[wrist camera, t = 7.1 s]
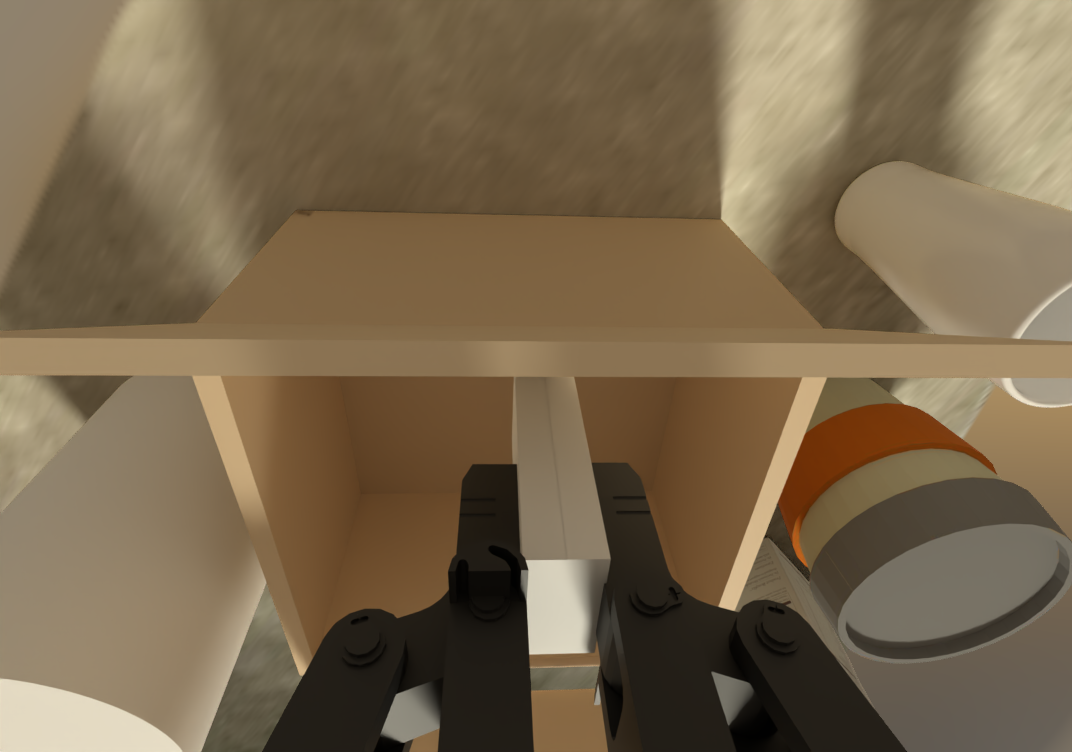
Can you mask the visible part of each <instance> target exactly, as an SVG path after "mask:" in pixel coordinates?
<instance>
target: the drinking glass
mask: <svg viewBox="0 0 1072 752" xmlns="http://www.w3.org/2000/svg"><path fill="white" fill-rule="evenodd" d="M835 230H836V233H837V236H838V238H839V240H840V241H841V242H842V244H843V245H844V246H845V247H846V248H848V249H849V250H850V251H851V252H853V253H854V254H855V255H857V256H858V257H859V258H860V259H861V260H862V261H863V262H864V263H865V264H866V265H867V266H868V267H869V268H870V269H871V270H872V271H873V272H874V273H875V274H876V275H877V276H878V277H879V278H880V279H881V280H882V281H883V282H884V283H885V284H886V285H887V286H888V287H889V288H890V289H891V290H892V291H893V292H894V293H895V294H896V295H897V296H898V297H899V298H900V299H901V300H902V301H903V302H904V303H905V304H906V305H907V306H908V307H909V309H910V310H911V311H912V312H913V313H914V314H915V315H916V316H917V317H918V318H919V319H920V320H921V321H922V322H923V323H924V324H925V325H926V326H927V327H928V328H929V329H930V330H931V331H932V332H933V333H934V334H941V335H960V336H978V337H997V338H1016V339H1034V340H1053V341H1072V211H1071V210H1067V209H1064V208H1061V207H1057V206H1054V205H1051V204H1047V203H1044V202H1040V201H1036V200H1033V199H1029V198H1025V197H1022V196H1018V195H1015V194H1011V193H1007V192H1004V191H1000V190H996V189H993V188H989V187H986V186H982V185H979V184H975V183H972V182H968V181H965V180H961V179H957V178H954V177H951V176H947V175H944V174H940V173H937V172H934V171H931V170H929V169H926V168H924V167H922V166H919V165H917V164H914V163H911V162H906V161H892V162H886V163H883V164H880V165H877V166H875V167H873V168H871V169H869V170H867V171H866V172H864V173H863V174H861V175H860V176H859V177H857V178H856V179H855V180H854V181H853V182H852V183H851V184H850V185H849V187H848V188H847V189H846V190H845V192H844V193H843V195H842V197H841V199H840V201H839V203H838V205H837V209H836V213H835ZM987 379H988V380H990V381H991V382H993V383H994V384H995V385H997V386H998V387H1000V388H1001V389H1003V390H1004V391H1005V392H1007V393H1008V394H1010V395H1011V396H1013V397H1014V398H1015V399H1017V400H1018V401H1020V402H1022V403H1025V404H1028V405H1032V406H1037V407H1047V408H1049V407H1063V406H1070V405H1072V378H987Z"/></svg>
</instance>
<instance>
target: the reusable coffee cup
mask: <svg viewBox="0 0 1072 752" xmlns="http://www.w3.org/2000/svg"><path fill="white" fill-rule="evenodd" d="M778 505H779V508H780V511H781V514H782V517H783V519H784V522H785V525H786V528H787V531H788V533H789V536H790V539H791V542H792V545H793V547H794V550H795V553H796V555H797V557H798V558H799V559H800V560H801V562H802V563H803V564H804V565H805V566H807V567H808V568H809V571H810V590H811V592H812V595H813V597H814V600H815V601H816V603H817V604H818V606H819V607H820V609H821V610H822V612H823V613H824V615H825V616H826V618H827V619H828V621H829V622H830V624H831V626H832V627H833V629H834V630H835V632H836V633H837V635H838V636H839V638H840V639H841V641H842V642H843V643H844V644H845V645H846V646H847V648H848V649H849V650H851V651H853V652H854V653H856V654H858V655H859V656H862V657H865V658H868V659H871V660H874V661H881V662H888V663H918V662H928V661H934V660H940V659H945V658H950V657H954V656H957V655H961V654H964V653H968V652H972V651H974V650H977V649H980V648H982V647H985V646H987V645H990V644H993V643H995V642H997V641H999V640H1002V639H1004V638H1006V637H1008V636H1010V635H1012V634H1014V633H1016V632H1017V631H1019V630H1021V629H1022V628H1024V627H1026V626H1028V625H1029V624H1031V623H1032V622H1034V621H1035V620H1037V619H1038V618H1039V617H1040V616H1042V615H1043V614H1044V613H1046V612H1047V611H1048V610H1050V608H1052V607H1053V606H1054V605H1055V604H1056V603H1057V602H1058V601H1059V600H1060V599H1061V598H1062V597H1063V596H1064V594H1065V593H1066V591H1067V590H1068V589H1069V587H1070V586H1071V585H1072V542H1071V540H1070V539H1069V538H1068V537H1067V536H1066V534H1065V533H1064V532H1063V531H1062V530H1061V528H1060V527H1059V526H1058V525H1057V524H1056V522H1055V521H1054V520H1053V519H1052V518H1051V516H1050V515H1049V514H1048V513H1047V511H1046V510H1045V509H1044V508H1043V507H1042V506H1041V504H1040V503H1039V502H1038V501H1037V500H1036V499H1035V498H1034V497H1033V495H1031V493H1030V492H1029V491H1027V490H1026V489H1024V488H1022V487H1020V486H1018V485H1016V484H1014V483H1011V482H1007V481H1004V480H1002V479H1001V478H1000V477H999V476H997V473H996V471H995V469H994V467H993V464H992V463H991V462H990V461H989V460H988V459H987V458H986V457H985V456H984V455H983V454H981V453H980V452H979V451H977V450H976V449H975V448H973V447H972V446H971V445H969V444H968V443H967V442H965V441H964V440H963V439H961V438H960V437H959V436H957V435H956V434H955V433H953V432H952V431H950V430H949V429H948V428H946V427H945V426H944V425H942V424H941V423H940V422H938V421H937V420H936V419H934V418H933V417H932V416H930V415H929V414H927V413H925V412H924V411H922V410H920V409H918V408H915V407H912V406H908V405H904V404H903V403H902V402H900V401H899V400H898V399H896V398H895V397H894V396H892V395H891V394H890V393H889V392H887V391H886V390H885V389H883V388H882V387H881V386H879V385H878V384H877V383H875V382H874V381H873V380H871V379H870V378H827V379H826V382H825V384H824V387H823V389H822V392H821V394H820V397H819V399H818V402H817V404H816V407H815V409H814V412H813V414H812V417H811V419H810V422H809V425H808V427H807V430H806V432H805V435H804V437H803V440H802V442H801V445H800V447H799V450H798V452H797V455H796V457H795V460H794V462H793V465H792V467H791V470H790V473H789V475H788V478H787V480H786V483H785V485H784V488H783V490H782V493H781V495H780V498H779V500H778Z"/></svg>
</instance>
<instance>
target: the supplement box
mask: <svg viewBox="0 0 1072 752" xmlns="http://www.w3.org/2000/svg"><path fill="white" fill-rule="evenodd" d="M753 600H771V601H775V602H778V603H782V604H784V605H786V606H788V607H789V608H791V609H793V610H795V611H796V612H798V613H799V614H800V615H801V616H802V617H803V618H804V619H805V620H806V621H807V622H808V623H809V624H810V625H811V627H812V628H813V629H814V631H815V632H816V633H817V635H818V636H819V637H820V638H821V640H822V641H823V642H824V644H825V645H826V646H827V648H828V649H829V650H830V652H831V653H832V654H833V655H834V657H835V658H836V659H837V661H838V662H839V663H840V665H841V666H842V667H843V669H844V670H845V671H846V672H847V674H848V675H849V676H850V678H851V679H852V680H853V682H854V683H855V684H856V686H857V687H858V688H859V690H860V691H861V692H862V693H863V695H864V696H865V697H866V699H867V700H868V701H869V703H870V704H871V705H872V703H871V702H870V700H869V698H868V696H867V694H866V692H865V691H864V689H863V687H862V685H861V684H860V682H859V680H858V678H857V676H856V673H855V671H854V669H853V666H852V664H851V662H850V661H849V659H848V656H847V654H846V652H845V651H844V649H843V647H842V645H841V643H840V641H839V639H838V637H837V635H836V633H835V631H834V629H833V627H832V626H831V624H830V622H829V621H828V619H827V618H826V616H825V615H824V613H823V612H822V610H821V609H820V607H819V606H818V604H817V603H816V601H815V600H814V597H813V595H812V592H811V590H810V583H809V581H808V580H807V579H806V578H805V577H804V576H803V575H802V573H801V572H800V571H799V570H798V569H797V568H796V567H795V566H794V565H793V564H792V563H791V561H790V560H789V559H788V558H787V557H786V556H785V555H784V554H783V553H782V552H781V550H780V549H779V548H778V547H777V546H776V545H775V544H774V543H773V542H772V541H771V540H770V539H769V538H768V537H767V538H765V539H763V541H762V543H761V546H760V548H759V551H758V553H757V556H756V558H755V561H754V563H753V566H752V569H751V571H750V574H749V576H748V579H747V581H746V584H745V586H744V589H743V591H742V594H741V596H740V599H739V601H738V604H737V606H736V609H735V611H736V612H740V610H741V608H742V607H743V606H744V605H746V604H748V603H749V602H751V601H753ZM872 707H873V705H872ZM873 708H874V707H873Z"/></svg>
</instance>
